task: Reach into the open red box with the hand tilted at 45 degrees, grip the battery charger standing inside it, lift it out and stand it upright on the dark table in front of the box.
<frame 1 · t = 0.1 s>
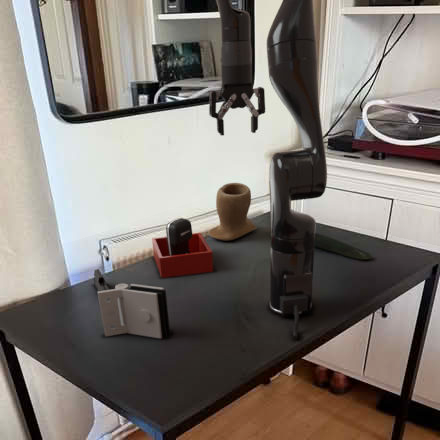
hand: (237, 133, 147), 29 cm above the table, tool pointing down, fingers open, 8 cm apart
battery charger: (182, 263, 152), resting on open red box
lighting fixture: (108, 299, 135), on the table
open red box: (182, 263, 152), on the table
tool: (325, 249, 157), on the table
stone cup: (235, 236, 169), on the table
hinge: (137, 334, 120), on the table
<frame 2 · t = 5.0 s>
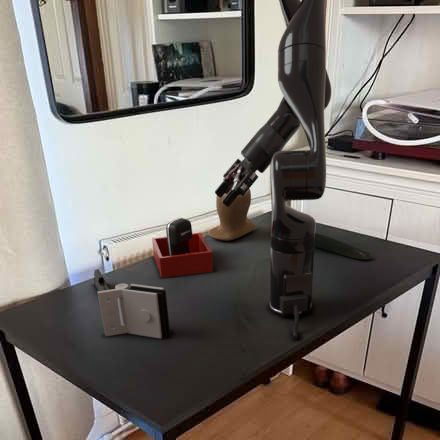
hand: (220, 199, 145), 16 cm above the table, tool tilted 45°, fingers open, 8 cm apart
nothing on the table moved.
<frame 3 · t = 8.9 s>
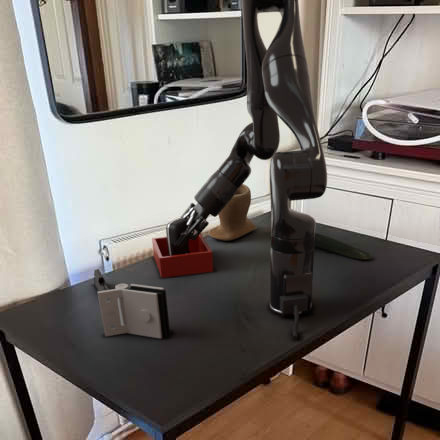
hand: (175, 243, 148), 6 cm above the table, tool tilted 45°, fingers closed on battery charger, 6 cm apart
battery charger: (182, 263, 152), resting on open red box, touching gripper
everything else where it was.
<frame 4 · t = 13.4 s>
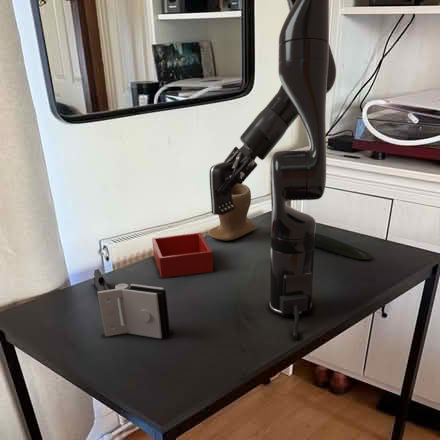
hand: (218, 189, 137), 20 cm above the table, tool tilted 45°, fingers closed on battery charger, 6 cm apart
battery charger: (225, 213, 140), point 14 cm above the table, touching gripper
everything else where it was.
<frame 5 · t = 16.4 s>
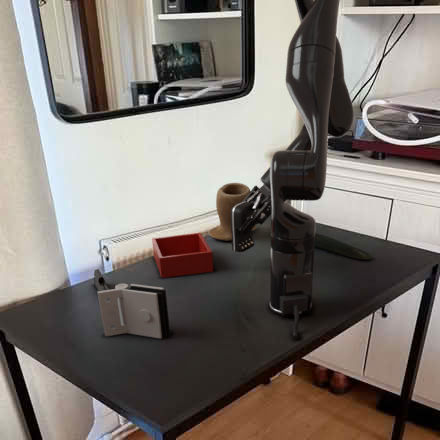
hand: (238, 228, 140), 11 cm above the table, tool tilted 45°, fingers closed on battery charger, 6 cm apart
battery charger: (245, 249, 144), point 5 cm above the table, touching gripper
everything else where it was.
when the fingers open (6 cm above the table, at t = 18.5 s): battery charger stays where it is, on the table.
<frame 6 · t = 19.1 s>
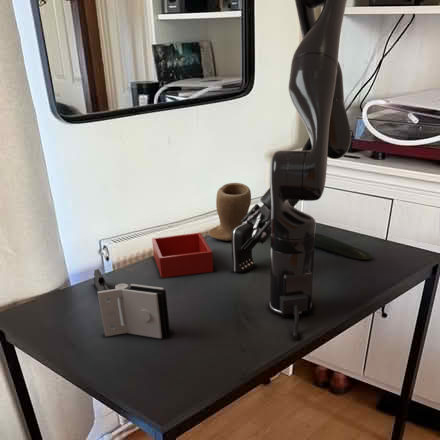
hand: (239, 245, 143), 6 cm above the table, tool tilted 45°, fingers open, 8 cm apart
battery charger: (245, 269, 147), on the table
everything else where it was.
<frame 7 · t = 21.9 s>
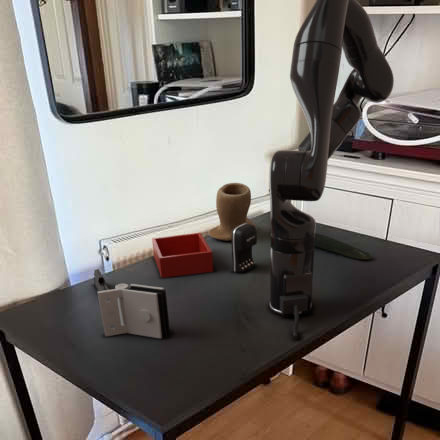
hand: (276, 197, 138), 18 cm above the table, tool tilted 45°, fingers open, 8 cm apart
nothing on the table moved.
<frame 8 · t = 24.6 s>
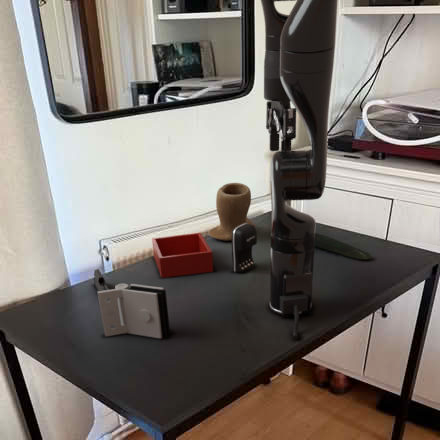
hand: (279, 154, 130), 28 cm above the table, tool pointing down, fingers open, 8 cm apart
nothing on the table moved.
at the end: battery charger inside the target area (0.1 cm from its centre), on the table; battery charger tilted 0°; the gripper is holding nothing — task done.
